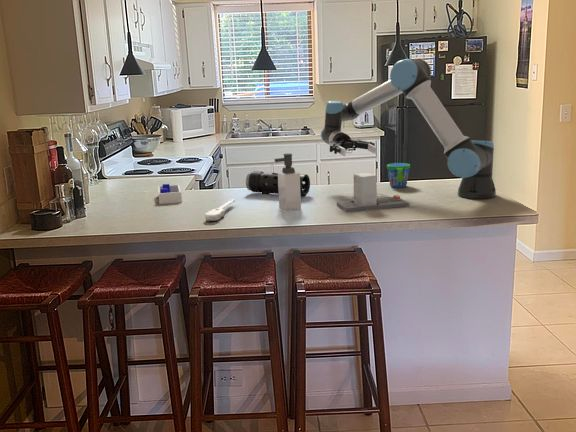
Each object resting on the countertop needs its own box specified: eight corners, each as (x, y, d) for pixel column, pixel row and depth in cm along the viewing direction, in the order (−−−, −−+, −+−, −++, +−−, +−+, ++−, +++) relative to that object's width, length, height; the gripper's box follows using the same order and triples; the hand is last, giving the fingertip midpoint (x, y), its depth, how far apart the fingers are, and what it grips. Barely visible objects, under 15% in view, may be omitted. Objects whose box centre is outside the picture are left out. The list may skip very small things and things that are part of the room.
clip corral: (179, 194, 266) (179, 184, 265) (182, 202, 250) (181, 192, 248) (158, 195, 264) (157, 186, 263) (159, 204, 247) (158, 193, 246)
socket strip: (396, 199, 239) (396, 194, 238) (408, 206, 227) (408, 200, 227) (336, 205, 233) (336, 199, 232) (346, 212, 222) (346, 206, 221)
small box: (376, 207, 227) (377, 175, 224) (362, 209, 225) (362, 176, 222) (367, 203, 234) (367, 172, 231) (353, 205, 232) (353, 173, 229)
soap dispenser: (274, 208, 231) (271, 154, 226) (293, 205, 235) (291, 152, 230) (281, 212, 226) (279, 156, 220) (300, 208, 230) (299, 154, 224)
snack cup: (387, 183, 273) (387, 161, 271) (409, 183, 271) (409, 161, 269) (386, 189, 258) (386, 167, 256) (410, 189, 256) (410, 167, 254)
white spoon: (227, 205, 241) (226, 199, 240) (240, 206, 239) (239, 199, 239) (202, 222, 214) (201, 214, 214) (216, 222, 213) (216, 215, 212)
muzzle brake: (301, 199, 246) (301, 175, 244) (245, 195, 259) (244, 172, 256) (310, 195, 255) (310, 172, 252) (255, 191, 267) (254, 169, 264)
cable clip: (171, 202, 251) (170, 188, 250) (161, 202, 251) (160, 189, 249) (173, 196, 263) (172, 183, 261) (163, 197, 262) (162, 184, 261)
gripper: (365, 147, 256) (387, 158, 237) (313, 151, 249) (331, 162, 230) (366, 130, 253) (388, 140, 234) (313, 133, 246) (331, 144, 227)
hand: (360, 151), depth 232 cm, fingers open, 13 cm apart
